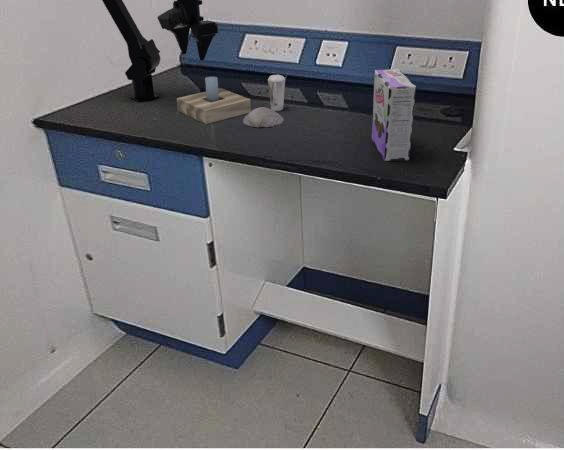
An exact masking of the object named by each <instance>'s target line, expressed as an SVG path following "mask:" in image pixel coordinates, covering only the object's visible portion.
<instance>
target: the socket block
mask: <svg viewBox="0 0 564 450" xmlns="http://www.w3.org/2000/svg"><path fill="white" fill-rule="evenodd" d="M218 93H219V101H215V102H211V103H210V102H208V101H207V97H206V91H203V92H202V91H201V92H198V93H193V94H189V95H185V96H184V95H183V96H182V97H181V96H179V97H177V98H176V108H177V112H178V113H181V114H183V115H184V116H185V115H186V116H187V117H189V118H192V119H194V120H196V121H198V122H200V123H203V124H205V125H207V124H208V125H209V124H211V123H216V122H219V121H223V120H228V119H230V118H234V117H238V116H242V115H247V114H249V113H250V112H251V111H252V107H251V106H252V105H251V99H250V98H248V97H246V96H243V95H240V94H237V93H235V92H232V91H229V90H226V89H225V88H222V87H220V88H219V87H218Z"/></svg>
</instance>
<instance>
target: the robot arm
mask: <svg viewBox="0 0 564 450" xmlns="http://www.w3.org/2000/svg"><path fill="white" fill-rule="evenodd" d="M101 1H102V3H103V4H104V6H105V8H106V10H107V12H108V13H109V15H110V16H111V19H112V20H113V22H114V24H115V26H116V27H117V29H118V31H119V32H120V34H121V36H122V38H123V39H124V42H125V44H126V46H127V52H128V58H129V60H130V62H131V65H130V66H129V67H128V68H127V70H126V71H125V72H124V74H125V76H126V78H127V80H128V81H131V84H132V90H133V92H132V93H133V94H130V95H129V96H128V97H129V98H130V99H133V100H135V101H136V102H144V101H150V100H155V99H159V98H160V95H159V94H156V93H155V90H154V89H155V88H154V83H153V82H154V81H153V74H154V73H155V72H156V69H157V68H158V66H159V65H160V62H161V55H160V53H161V51H160V49H158V48H157V46H156V43H155V41H154V39H153V38H152V39H149V40H148V39H146V37H144V36H143V35H142V33H141V31H140V30H139V28H138V26H137V24H136V21H134V19H133V17H132V16H131V14H130V11H129V10H128V8H127V6H126V4H125V2H124V1H123V0H101ZM201 5H203V0H173V2H172V8H170V9H168V10H166V11H165V12H163V13H160V14H159V15H158V16H157V20H158V22H159V24H160V27H161V29H162V30H166V31H169V32H171V34H173V36H174V37H175V40H176V42H177V45H178V47H179V50H180V53H181V54H182V55H186V54H187V52H188V45H189V40H190V39H189V37H190V36H191V38H193V39H194V41H196V46H197V53H198V57H199V61H204V60H205V58H206V56H207V53H208V50H209V47H210V45H211V43H212V41H213V39H214V37H216V35H217V34H218V33H219V25H218V23H216V22H215V21H211V20H205V19H204V16H203V15H201V9H200V7H201ZM190 33H191V34H192V35H190Z"/></svg>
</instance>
